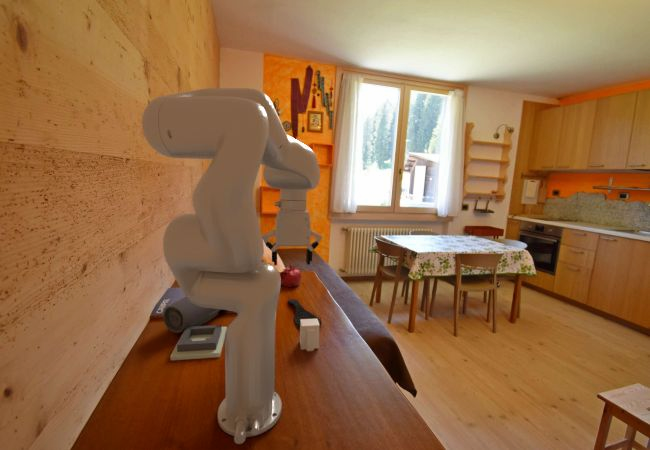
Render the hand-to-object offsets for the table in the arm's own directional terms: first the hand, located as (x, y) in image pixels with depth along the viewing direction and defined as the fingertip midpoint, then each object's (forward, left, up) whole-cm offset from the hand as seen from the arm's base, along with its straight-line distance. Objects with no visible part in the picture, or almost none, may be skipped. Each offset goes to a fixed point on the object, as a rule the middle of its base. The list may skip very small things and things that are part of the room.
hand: (291, 263), depth 89 cm
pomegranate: (+42, -3, -22) cm, 48 cm away
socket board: (-3, +25, -22) cm, 34 cm away
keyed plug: (-7, -5, -22) cm, 24 cm away
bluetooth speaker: (+11, +27, -22) cm, 36 cm away
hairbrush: (+12, -5, -23) cm, 26 cm away
